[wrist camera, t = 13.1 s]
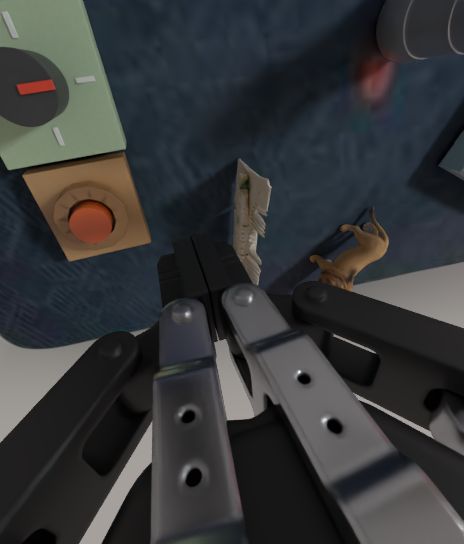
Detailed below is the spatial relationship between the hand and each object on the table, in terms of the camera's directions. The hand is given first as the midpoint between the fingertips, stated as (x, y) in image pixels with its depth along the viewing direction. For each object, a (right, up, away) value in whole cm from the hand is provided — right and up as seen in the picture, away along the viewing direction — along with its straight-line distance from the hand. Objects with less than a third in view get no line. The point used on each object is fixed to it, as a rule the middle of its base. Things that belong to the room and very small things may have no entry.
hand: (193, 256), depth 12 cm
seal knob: (-13, +14, +10) cm, 22 cm away
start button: (-12, +5, +17) cm, 21 cm away
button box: (-13, +7, +19) cm, 24 cm away
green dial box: (-14, +15, +13) cm, 25 cm away
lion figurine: (+17, +3, +33) cm, 37 cm away
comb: (+2, +6, +25) cm, 26 cm away
